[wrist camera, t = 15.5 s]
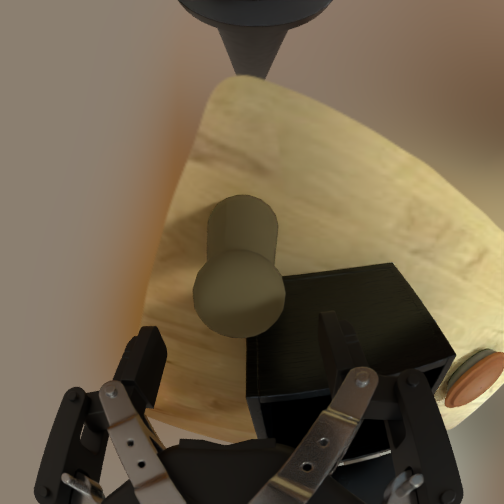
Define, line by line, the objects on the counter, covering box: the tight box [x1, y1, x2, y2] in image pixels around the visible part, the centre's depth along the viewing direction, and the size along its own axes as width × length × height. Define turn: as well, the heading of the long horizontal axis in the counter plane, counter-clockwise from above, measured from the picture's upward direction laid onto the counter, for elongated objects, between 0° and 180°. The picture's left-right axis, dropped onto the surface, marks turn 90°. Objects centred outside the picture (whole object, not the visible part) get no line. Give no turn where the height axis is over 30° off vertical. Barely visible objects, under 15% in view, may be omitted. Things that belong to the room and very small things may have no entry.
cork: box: [193, 195, 286, 338], centre depth 19 cm, size 6×6×11 cm
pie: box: [445, 349, 504, 408], centre depth 35 cm, size 15×16×5 cm
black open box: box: [246, 263, 456, 463], centre depth 25 cm, size 18×15×13 cm
